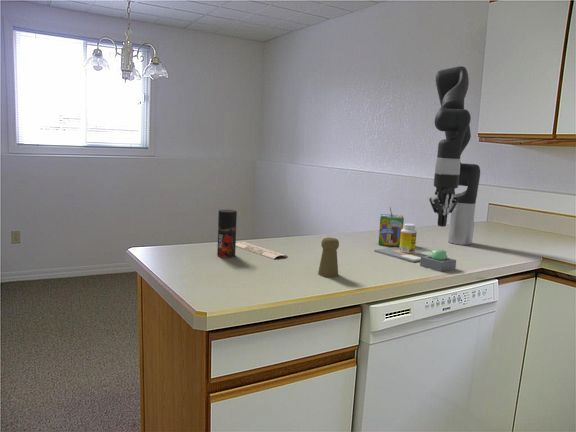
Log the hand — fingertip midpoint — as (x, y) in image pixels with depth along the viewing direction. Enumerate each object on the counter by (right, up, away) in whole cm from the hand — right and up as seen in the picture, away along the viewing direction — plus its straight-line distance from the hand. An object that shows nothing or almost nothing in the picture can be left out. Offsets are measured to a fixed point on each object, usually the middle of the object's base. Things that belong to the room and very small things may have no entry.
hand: (441, 226), depth 153 cm
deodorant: (-70, -10, +4) cm, 71 cm away
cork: (-38, -14, -13) cm, 43 cm away
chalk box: (-9, -8, +37) cm, 38 cm away
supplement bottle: (-6, -10, +20) cm, 23 cm away
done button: (-1, -12, +2) cm, 12 cm away
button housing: (-1, -14, +2) cm, 14 cm away
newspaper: (-60, -10, +12) cm, 62 cm away
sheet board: (-5, -11, +20) cm, 23 cm away
